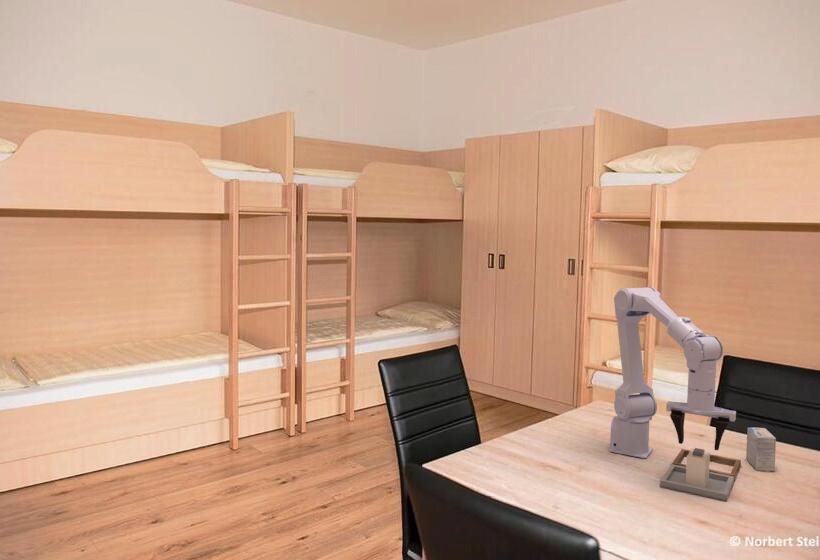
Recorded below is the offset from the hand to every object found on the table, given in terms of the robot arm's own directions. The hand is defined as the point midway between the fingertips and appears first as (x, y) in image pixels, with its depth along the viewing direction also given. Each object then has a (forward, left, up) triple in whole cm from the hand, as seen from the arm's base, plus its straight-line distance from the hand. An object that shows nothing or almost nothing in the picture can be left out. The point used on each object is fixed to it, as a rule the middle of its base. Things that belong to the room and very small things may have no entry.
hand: (698, 445), depth 148 cm
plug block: (0, 0, -9) cm, 9 cm away
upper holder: (0, +13, -10) cm, 16 cm away
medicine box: (+11, +22, -10) cm, 26 cm away
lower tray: (0, 0, -10) cm, 10 cm away
